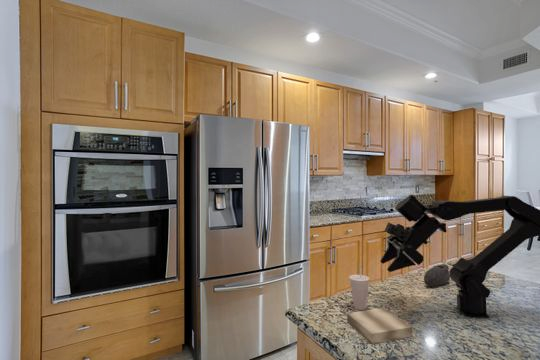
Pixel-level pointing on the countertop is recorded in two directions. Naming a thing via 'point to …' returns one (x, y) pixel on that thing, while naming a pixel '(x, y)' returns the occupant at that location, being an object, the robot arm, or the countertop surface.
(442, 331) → the countertop surface
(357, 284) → the smoothie
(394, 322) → the plinth
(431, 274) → the perforated stone tool
